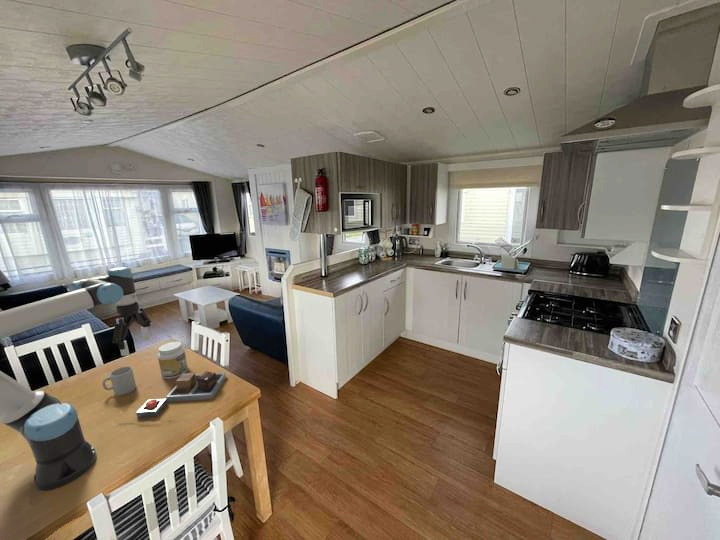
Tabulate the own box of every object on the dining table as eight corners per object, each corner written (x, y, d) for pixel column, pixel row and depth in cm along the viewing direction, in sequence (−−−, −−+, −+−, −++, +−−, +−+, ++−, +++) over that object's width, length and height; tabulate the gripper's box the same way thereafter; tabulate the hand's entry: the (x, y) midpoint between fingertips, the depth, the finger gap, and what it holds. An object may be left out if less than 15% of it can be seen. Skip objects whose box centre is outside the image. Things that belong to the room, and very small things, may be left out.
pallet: (212, 401, 131) (211, 394, 130) (166, 403, 130) (165, 397, 129) (226, 378, 148) (225, 372, 147) (186, 381, 146) (184, 375, 145)
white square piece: (157, 418, 120) (155, 411, 120) (137, 420, 120) (136, 412, 119) (168, 405, 128) (166, 398, 127) (150, 407, 128) (148, 399, 127)
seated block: (191, 392, 135) (188, 380, 134) (178, 393, 135) (175, 381, 133) (197, 384, 141) (195, 372, 139) (184, 385, 141) (182, 373, 139)
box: (208, 383, 142) (206, 370, 140) (218, 385, 141) (216, 372, 139) (198, 391, 136) (196, 378, 135) (208, 392, 135) (206, 379, 133)
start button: (154, 413, 122) (153, 405, 121) (145, 413, 122) (143, 406, 121) (160, 406, 126) (158, 399, 125) (151, 407, 126) (149, 399, 125)
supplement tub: (185, 377, 149) (180, 349, 145) (159, 382, 145) (153, 354, 141) (190, 365, 160) (185, 339, 156) (165, 370, 156) (159, 343, 152)
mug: (137, 382, 145) (133, 364, 143) (135, 391, 138) (130, 372, 136) (107, 391, 139) (102, 371, 136) (103, 400, 132) (98, 380, 129)
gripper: (113, 313, 108) (124, 362, 113) (154, 293, 132) (162, 333, 137) (92, 314, 107) (105, 363, 112) (137, 293, 131) (146, 334, 136)
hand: (136, 347), depth 124 cm, fingers open, 13 cm apart
